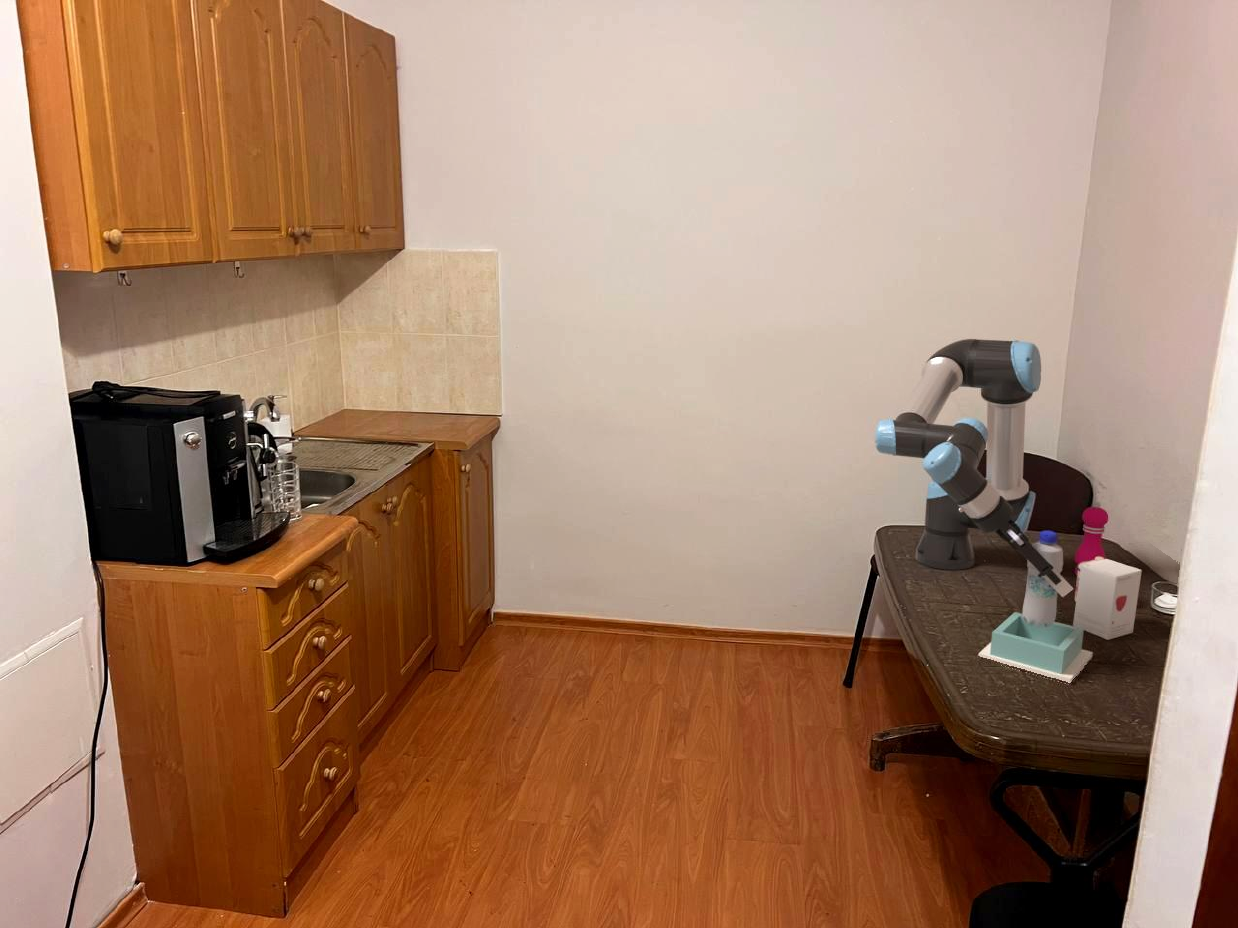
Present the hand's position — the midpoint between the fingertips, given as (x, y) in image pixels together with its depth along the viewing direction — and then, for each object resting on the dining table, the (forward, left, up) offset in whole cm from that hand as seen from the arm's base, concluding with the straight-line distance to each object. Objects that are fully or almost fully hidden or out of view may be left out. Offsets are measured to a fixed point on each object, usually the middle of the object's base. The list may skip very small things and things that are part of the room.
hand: (1060, 585), depth 189 cm
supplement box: (+4, +24, -17) cm, 29 cm away
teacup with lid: (-1, +38, -17) cm, 41 cm away
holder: (-3, -1, -16) cm, 17 cm away
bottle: (-3, -2, -9) cm, 9 cm away
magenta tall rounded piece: (-8, +59, -17) cm, 62 cm away
